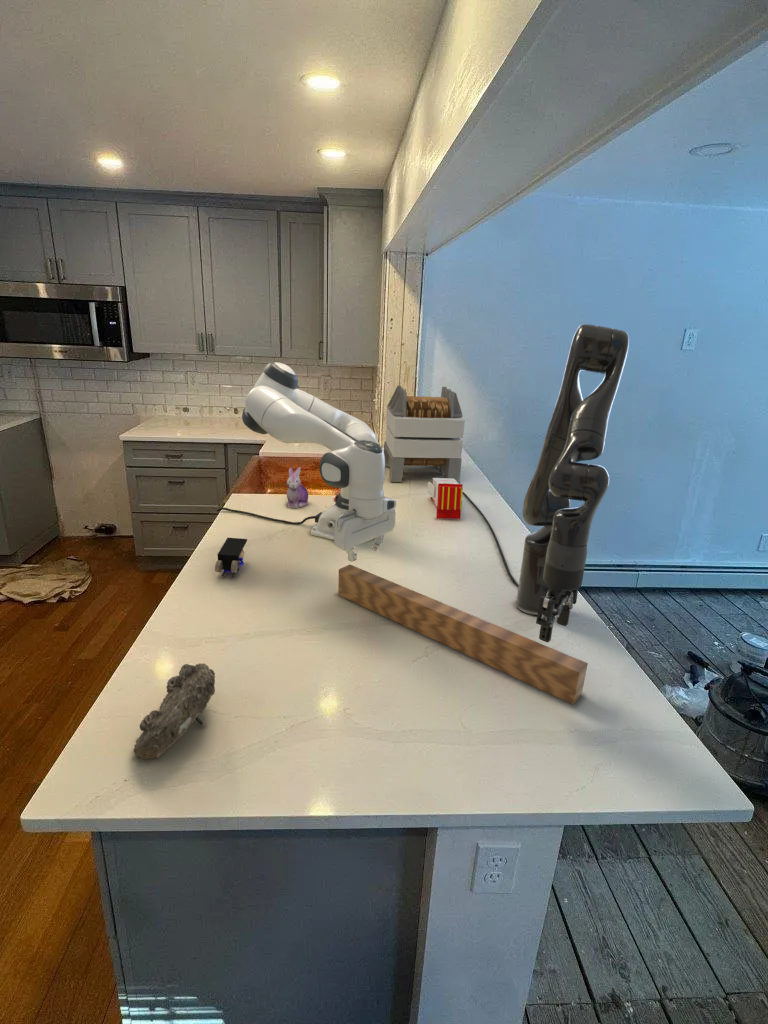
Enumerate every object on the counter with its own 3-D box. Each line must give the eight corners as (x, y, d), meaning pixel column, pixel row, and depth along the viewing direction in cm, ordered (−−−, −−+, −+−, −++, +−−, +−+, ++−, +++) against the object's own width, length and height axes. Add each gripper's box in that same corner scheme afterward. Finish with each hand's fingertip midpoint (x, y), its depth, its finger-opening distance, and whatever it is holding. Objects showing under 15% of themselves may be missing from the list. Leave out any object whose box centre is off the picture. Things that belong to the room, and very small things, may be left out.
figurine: (290, 510, 218) (289, 472, 212) (281, 502, 226) (281, 465, 221) (313, 507, 222) (313, 470, 217) (304, 499, 230) (304, 463, 225)
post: (338, 594, 156) (338, 569, 153) (349, 589, 159) (349, 564, 156) (573, 704, 116) (579, 672, 113) (581, 694, 119) (587, 663, 117)
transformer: (382, 463, 289) (386, 382, 275) (445, 464, 293) (451, 384, 279) (390, 482, 257) (394, 392, 243) (460, 483, 261) (468, 394, 247)
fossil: (165, 664, 116) (216, 632, 111) (198, 695, 118) (250, 665, 113) (108, 752, 96) (167, 718, 91) (150, 786, 99) (209, 755, 94)
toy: (455, 474, 240) (467, 485, 211) (453, 505, 243) (464, 520, 214) (426, 473, 240) (434, 484, 211) (425, 504, 243) (432, 519, 213)
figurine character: (238, 584, 162) (249, 557, 175) (236, 562, 158) (247, 536, 172) (215, 584, 161) (227, 556, 175) (212, 561, 158) (225, 535, 171)
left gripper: (346, 518, 134) (345, 571, 139) (400, 499, 149) (397, 547, 154) (328, 511, 138) (327, 563, 143) (382, 494, 153) (380, 541, 158)
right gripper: (569, 578, 105) (556, 653, 110) (597, 556, 115) (584, 625, 121) (531, 566, 109) (521, 639, 115) (562, 545, 120) (551, 613, 125)
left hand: (364, 555), depth 149 cm, fingers open, 8 cm apart
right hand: (553, 632), depth 118 cm, fingers open, 8 cm apart
